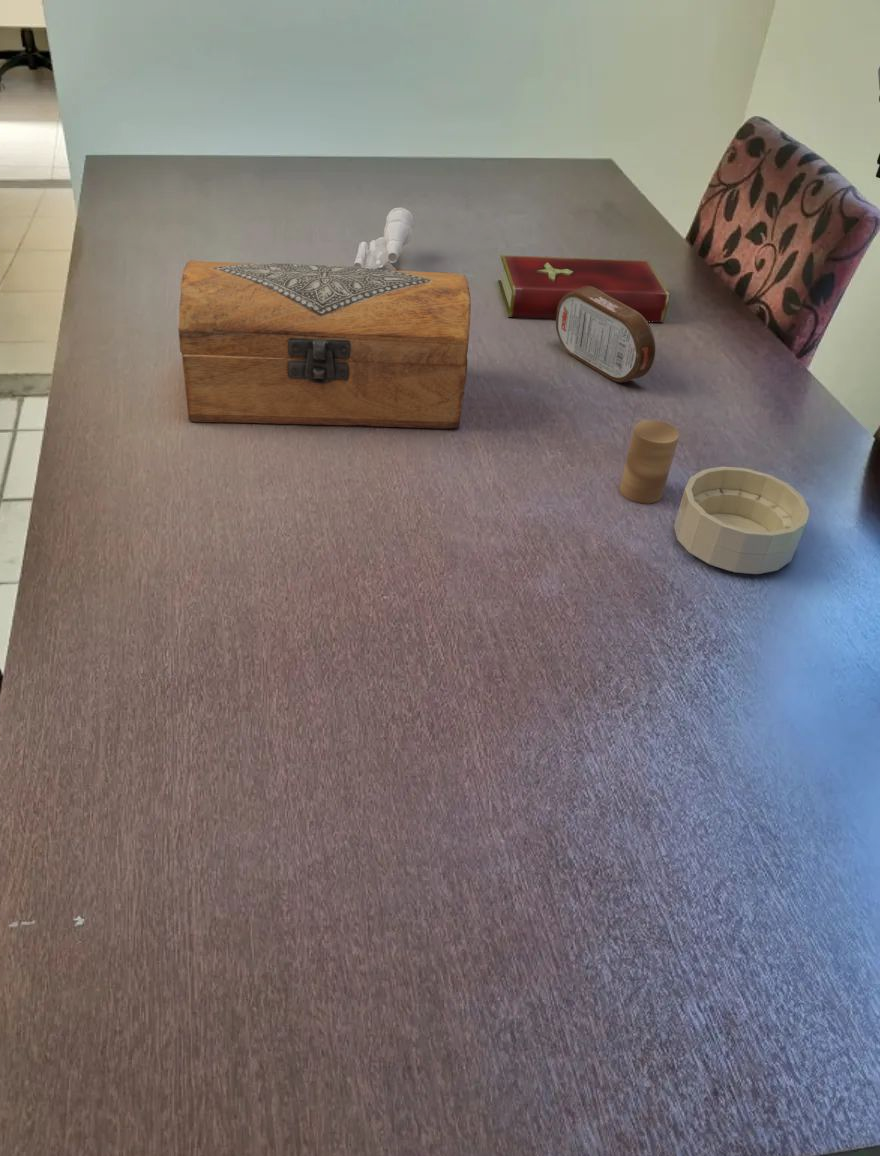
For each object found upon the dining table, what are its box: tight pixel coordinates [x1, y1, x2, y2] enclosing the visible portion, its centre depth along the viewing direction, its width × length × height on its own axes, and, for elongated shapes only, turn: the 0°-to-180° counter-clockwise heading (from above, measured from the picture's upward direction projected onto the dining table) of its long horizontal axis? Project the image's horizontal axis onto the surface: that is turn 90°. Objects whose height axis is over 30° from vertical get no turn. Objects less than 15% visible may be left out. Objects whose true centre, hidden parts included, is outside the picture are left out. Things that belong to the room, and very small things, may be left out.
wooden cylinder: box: [618, 419, 680, 505], centre depth 97 cm, size 4×4×7 cm
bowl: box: [673, 466, 811, 575], centre depth 92 cm, size 11×11×5 cm
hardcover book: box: [497, 254, 671, 323], centre depth 133 cm, size 12×21×4 cm, turn 93°
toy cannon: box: [352, 207, 415, 271], centre depth 137 cm, size 8×14×5 cm
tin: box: [555, 286, 656, 383], centre depth 117 cm, size 15×3×8 cm, turn 34°
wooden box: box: [177, 259, 472, 430], centre depth 106 cm, size 30×16×14 cm, turn 91°
